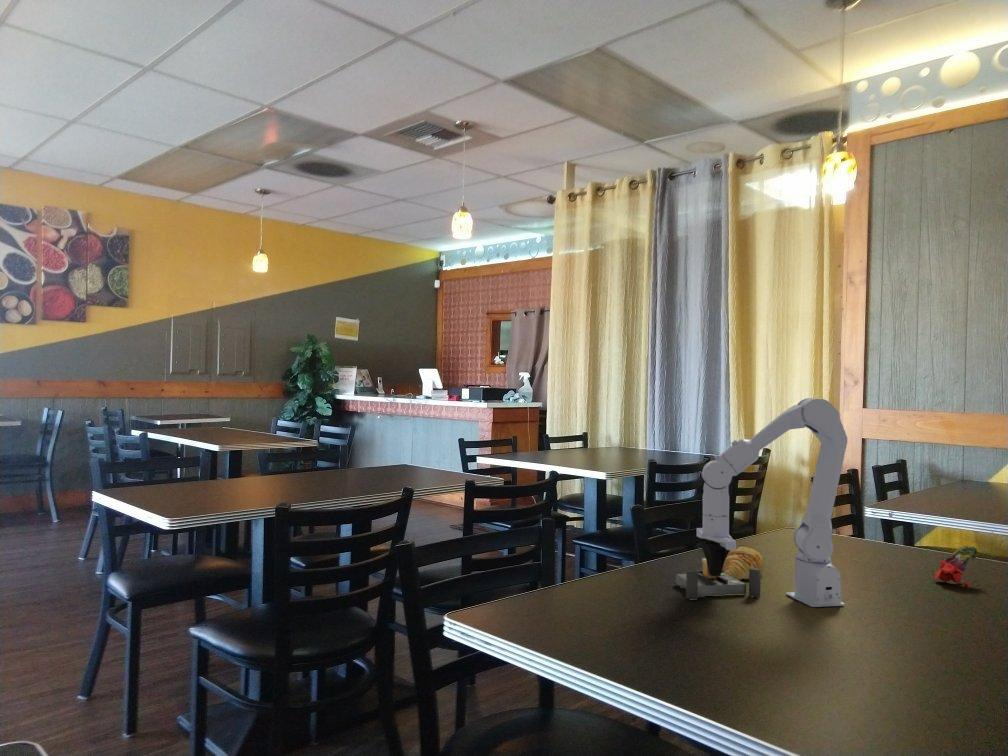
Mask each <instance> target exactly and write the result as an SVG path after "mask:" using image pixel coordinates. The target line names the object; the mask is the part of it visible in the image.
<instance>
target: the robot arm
mask: <svg viewBox="0 0 1008 756" xmlns="http://www.w3.org/2000/svg"><path fill="white" fill-rule="evenodd" d="M804 428H807V429H809V430H810V431H811V432H812V433H813V435H815V437H816V439H817V440H818V441H819V442H820V446H819V452H818V456H817V460H816V464H815V470H814V475H813V478H812V484H811V489H810V493H809V498H808V502H807V507H806V511H805V513H804V514H803V516H802V517H801V522H800V524H799V526H798V527H797V528H796V530H795V531H794V533H793V543H794V545H795V546H796V547H797V551H796V552H795V554H794V591H789V592H785V593H786V595H787V596H788V597H790V598H792V599H794V600H797V601H798V602H801V603H803V604H805V605H806V606H809V607H811V608H820V607H822V608H823V607H843V606H845V603H844V602H843V601H842V575H841V573H840V571H839V570H838V568H837V567H835V566H834V565H833V564H832V561H831V560H832V557H831V556H832V554H833V552H834V543H833V539H832V534H833V524H832V516H833V515H832V514H833V510H834V505H835V502H836V497H837V492H838V487H839V483H840V477H841V473H842V468H843V464H844V460H845V454H846V449H847V446H848V436H847V433H846V431H845V430H846V429H845V428H844V425H843V423H842V420H841V416H840V411H839V410H838V409H837V408H836V407H835V406H834V405H833V404H832V403H831V402H830V401H829V400H827V399H825V398H820V397H819V398H813V397H807V398H804V399H801V400H800V401H799V402H798V403H797V404H794V405H792V406H790V407H789V408H787V409H786V410H785V411H783V412H781V413H780V414H779V415H778V416H776V417H775V418H774V419H773V420H772V421H770V422H769V423H768V424H767V425H765V426H764V427H763V428H762V429H761V430H760V431H759V432H757V433H756V434H755V435H753V436H752V437H751V438H750V439H746V438H740V439H739V440H736V439H734V440H733V441H731V443H730V444H731V446H730V447H728V448H727V449H725V451H723V452H722V453H721V454H716V455H714V459H715V460H711V461H709V462H707V463H705V464H704V466H703V468H702V471H701V472H700V473H701V477H702V479H703V481H704V483H703V488H702V489H703V493H702V527H696V533H695V534H696V537H698V538H699V539H704V540H706V541H703V542H700V543H699V546H700V547H701V549H702V553H703V554H704V558H706V561H707V565H708V570H709V574H710V575H711V576H721V573H723V572H722V571H723V569H722V568H723V565H724V562H725V559H726V557H727V555H728V553H729V552H730V550H736V548H737V541H736V540H735V539H733V537H732V536H731V535H730V495H729V485H730V484H731V482H732V478H733V477H737V476H738V475H739V474H740V473H742V472H743V471H745V470H746V469H747V468H748V467H750V466H751V465H752V464H754V463H756V461H758V459H759V458H760V457H759V455H760V451H761V450H763V449H764V448H765V447H767V446H768V445H770V444H771V443H772V442H774V441H776V440H777V439H778V438H780V437H781V436H783V435H784V434H785V433H787V432H788V431H790V430H796V429H804Z"/></svg>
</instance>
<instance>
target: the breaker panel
mask: <svg viewBox="0 0 1008 756" xmlns="http://www.w3.org/2000/svg"><path fill="white" fill-rule="evenodd" d="M693 570H694V569H693ZM694 571H697V572H698V596H706V595H724V594H746V595H747V584H746V583H745V582H743V581H741V580H737V579H735V578H733V577H731V576H729V575H727V574H725V573H724V572H721V576H716V578H708V577H706V576H704V575H703V569H701V570H700V569H695V570H694ZM675 575H676V577H675V578H676V579H675V581H676V582H675V583H677V584H678V585H680V586H681V587H683V588H684V589H686V573H677V574H675Z"/></svg>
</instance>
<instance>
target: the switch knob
mask: <svg viewBox="0 0 1008 756" xmlns="http://www.w3.org/2000/svg"><path fill="white" fill-rule="evenodd" d="M701 563H702V570H703V575H704V576H706V577H708V578H716V576H711V575H710V574H709V570H708V565H707V561H706V557H704V558H703V557H702V558H701Z"/></svg>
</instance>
